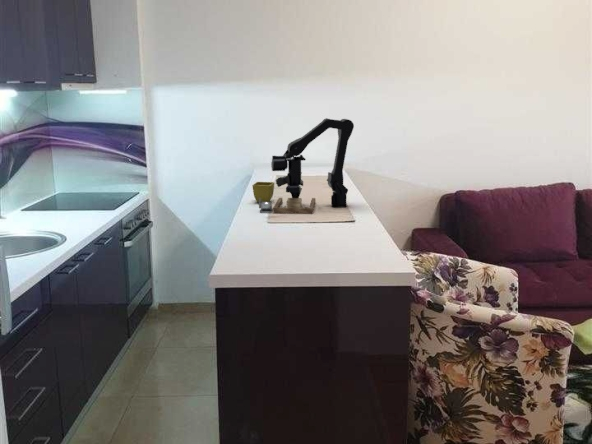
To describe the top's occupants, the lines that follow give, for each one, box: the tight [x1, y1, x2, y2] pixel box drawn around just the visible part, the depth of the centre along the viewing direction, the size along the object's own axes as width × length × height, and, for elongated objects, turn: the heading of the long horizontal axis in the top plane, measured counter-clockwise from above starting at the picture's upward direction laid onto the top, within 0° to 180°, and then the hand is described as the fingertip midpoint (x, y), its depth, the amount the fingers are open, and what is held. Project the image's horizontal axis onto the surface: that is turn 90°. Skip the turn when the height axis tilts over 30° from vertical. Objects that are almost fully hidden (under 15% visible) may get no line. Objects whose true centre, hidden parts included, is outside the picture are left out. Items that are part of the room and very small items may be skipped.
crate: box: [286, 197, 303, 208], centre depth 278 cm, size 6×6×5 cm
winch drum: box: [258, 198, 273, 214], centre depth 275 cm, size 6×5×6 cm
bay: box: [272, 197, 316, 215], centre depth 283 cm, size 17×23×2 cm
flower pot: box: [252, 181, 275, 204], centre depth 295 cm, size 9×9×9 cm
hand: (295, 204), depth 283 cm, fingers closed
